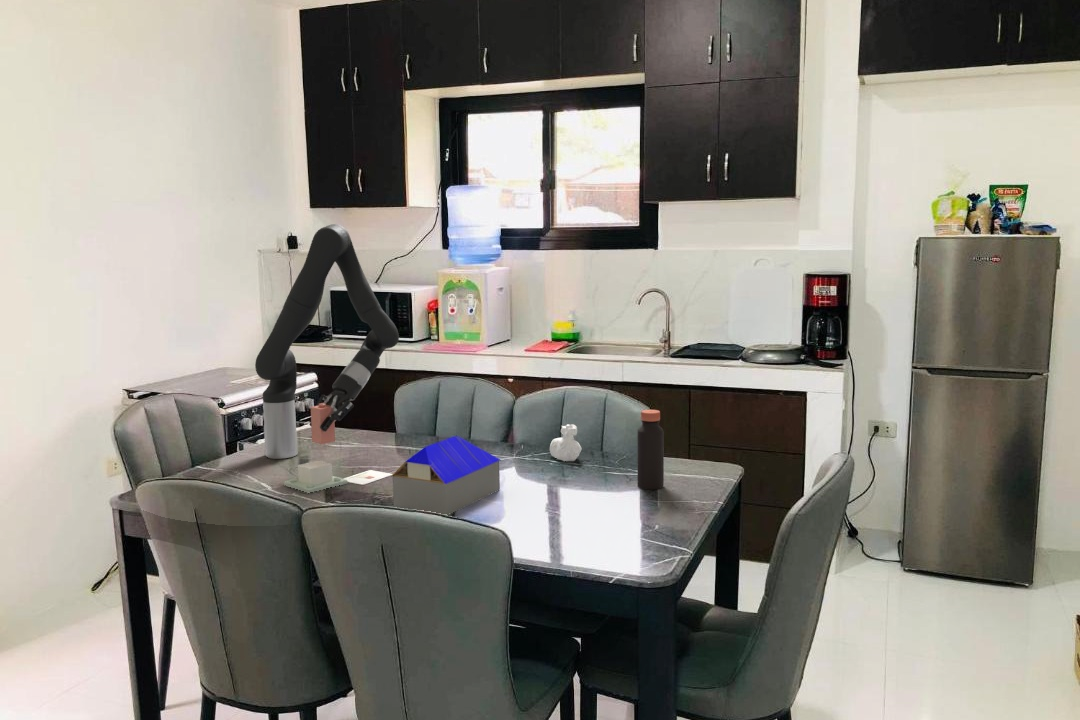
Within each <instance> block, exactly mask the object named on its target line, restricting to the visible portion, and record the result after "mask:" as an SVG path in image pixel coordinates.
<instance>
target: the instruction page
mask: <svg viewBox="0 0 1080 720" xmlns="http://www.w3.org/2000/svg"><path fill="white" fill-rule="evenodd" d="M393 474H394V473H389V472H384V471H378V470H374V469H373V470H372V469H369V470H366V471H363V472H359V473H357V474H354V475H350V476H347V477H344V478H343V479H345V480H347V483H350V484H355V485H360V486H364V485H368V484H370V483H373V482H376V481H379V480H382V479H385V478H389V477H391V476H392V475H393Z"/></svg>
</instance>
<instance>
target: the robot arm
mask: <svg viewBox="0 0 1080 720" xmlns="http://www.w3.org/2000/svg"><path fill="white" fill-rule="evenodd" d="M307 252H308V253H307V255H306V258H305V262H304V264H303V265H302V268H301V270H300V272H299V273H298V276H296V279H295V281H294V283H293V285H292V287H291V289H290V290H289V293H288V295H287V296H286V299H285V300H284V301H285V302H284V303H283V307H282V308H281V311H280V313H279V315H278V317H277V320H276V322H275V323H274V326H273V328H272V330H271V332H270V334H269V336H268V338H267V339H266V341H265V343H264V344H263V346H262V347H261V349H260V351H259V353H257V357H256V358H255V364H254V365H255V367H254V368H255V372H256V375H258V377H259V378H260V379H262V380H266V381H269V383H268V386H267V388H266V389H265V390H264V391H263V393H262V405H263V406H262V407H263V420H264V423H263V424H264V425H263V437H264V452H265V456H266V458H267V457H268V459H275V460H277V459H280V460H281V459H282V460H283V459H287V458H288V459H289V458H293V457H295V456H297V455H298V436H297V421H296V420H297V419H296V406H295V405H296V403H295V395H296V394H295V393H296V391H297V384H298V383H297V380H298V379H297V376H298V375H297V374H298V373H297V361H296V357H295V355H294V353H293V352H292V350H291V349H290V348H291V346H292V344H293V343H294V342H295V341H296V340H297V338H298V337H299V336H300V335H301V334H302V333H303V332H304V331H305V329H306V328H307V327H308V326H309V325H310V324H311V323H312V321H313V319H314V317H315V316H316V314H317V311H318V309H319V307H320V304H321V302H322V298H323V295H324V289H325V285H326V280H327V277H328V274H329V273H330V271H331V269H332V268H333V266H334V264H336V265H337V267H338V268H339V271H340V273H341V275H342V277H343V281H344V284H345V288H346V291H347V295H348V297H349V300H350V302H351V304H352V306H353V308H354V310H355V312H356V314H357V316H358V317H359V319H360V320H361V322H363V323H365V324H367V325H368V326H369V328H370V329H371V330H370V331H369V333H368V334H367V335H366V337H365V338H364V340H363V342H362V344H361V346H360V349H359V350H358V351H357V352H356V354H355V355H354V357H353V358H352V359H351V361H350V362H349V363H348V364H347V365H346V366H345V367H344V369H343V370H342V371H341V373H340V374H339V376H338V377H337V378H336V380H335V381H333V384H332V385H331V386H332V391H331V392H330V393H329V394H328V395H325V394H321V395H320V397H319V399H318V401H317V403H316V404H315V406H319V404H321V403H325V404H326V405H329V406H331V411H330V413H329V415H328V417H326V419H325V420H324V422H323V423H322V424H321V426H320V429H321V430H323V431H325V432H326V431H327V429H328V428H329V427H330V426H331V424H332V423H333V422H336V421H339V422H340V421H342V419H343V418H345V416H346V415H348V413H349V412H350V411H351V410H352V409H353V408H354V406H355V405H354V404H353V402H351V401H356V398H357V397H358V396H359V394H360V392H361V391H362V390H363V388H364V387H365V386H366V384H367V383H368V381H369V379H370V377H371V376H372V374H374V372H375V370H376V369H377V368H378V366H379V364H380V361H381V356H382V354H383V353H384V352H385V350H386V349H387V350H388V349H391V348H395V346H396V345H397V344H398V342H399V340H400V335H399V331H398V328H397V326H396V325H395V323H394V322H393V320H392V319H391V318H390V317H389V316H388V314H387V313H386V312H385V310H383V308H382V306H381V304H380V302H379V300H378V299H377V297H376V295H375V293H374V291H373V289H372V287H371V285H370V283H369V281H368V280H367V279H368V278H366V275H365V273H364V270H363V269H362V265H361V264H360V262H359V258H358V256H357V253H356V250H355V248H354V243H353V242H352V239H351V236H350V234H349V231H347V228H345V227H343V226H342V225H340V224H337V223H335V224H329V225H326V226H323V227H321V228H320V229H318V230H317V231H316V232H315V234H314V236H313V237H312V240H311V244H310V246H309V250H308V251H307ZM333 413H334V414H333ZM309 426H310V427H311V426H312V425H311V421H310V422H309Z"/></svg>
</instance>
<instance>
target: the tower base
mask: <svg viewBox="0 0 1080 720" xmlns="http://www.w3.org/2000/svg"><path fill="white" fill-rule="evenodd" d="M332 468H333V465H332V463H329V462H325V461H322V460H314V461H310V462H304V463H302V464H301V463H300V464H297V474H298V475H297V476H298V477H297V478H295V477H293V478H289V480H286V481H283V486H285V485H286V486H285V487H289V488H290V487H291V489H293V488H295V489H294V490H296V489H298V490H297V491H299V490H301V491H300V492H302V491H304V492H303V493H305V492H307V493H306V494H308V493H309V494H311V493H310V492H313V493H315V492H314V491H317V492H320V491H319V490H321V491H324V490H323V489H325V490H327V489H326V488H329V489H331V488H330V487H332V488H336V487H339V485H340V486H344V485H348V482H347V480H345V479H344V478H342V477H341V476H340V477H339V476H335V475H333V469H332ZM335 486H336V487H335Z"/></svg>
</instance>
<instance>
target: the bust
mask: <svg viewBox="0 0 1080 720" xmlns="http://www.w3.org/2000/svg"><path fill="white" fill-rule="evenodd" d="M560 433H561V434H562V437H557V438H553V439H552V441H551V443H550V445H549V453H550V455H551V456H552V457H553V458H554V459H555V458H557V459H556V460H560V461H563V462H565V461H566V462H575V461H576V459H577V458H578V457H579V456H580V453H581V451H582V449H583V448H582V446H581V445H580V443H579V442H578V441H577V440H575V438H574V436H577V433H578V426H576V425H575V424H574V423H572V424H568V423H567V424H566V425H561V429H560Z"/></svg>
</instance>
